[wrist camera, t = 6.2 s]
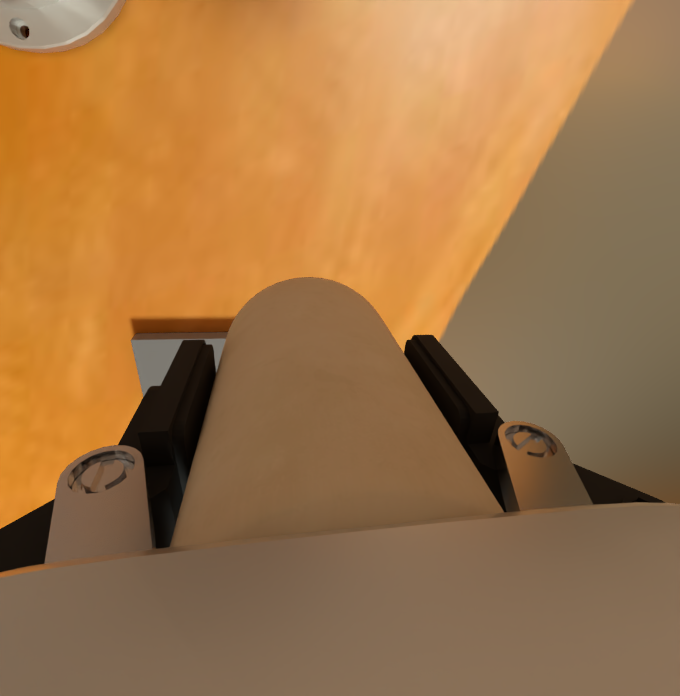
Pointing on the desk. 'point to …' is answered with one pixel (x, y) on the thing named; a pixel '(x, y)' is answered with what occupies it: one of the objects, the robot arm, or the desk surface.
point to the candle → (320, 427)
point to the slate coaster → (167, 353)
